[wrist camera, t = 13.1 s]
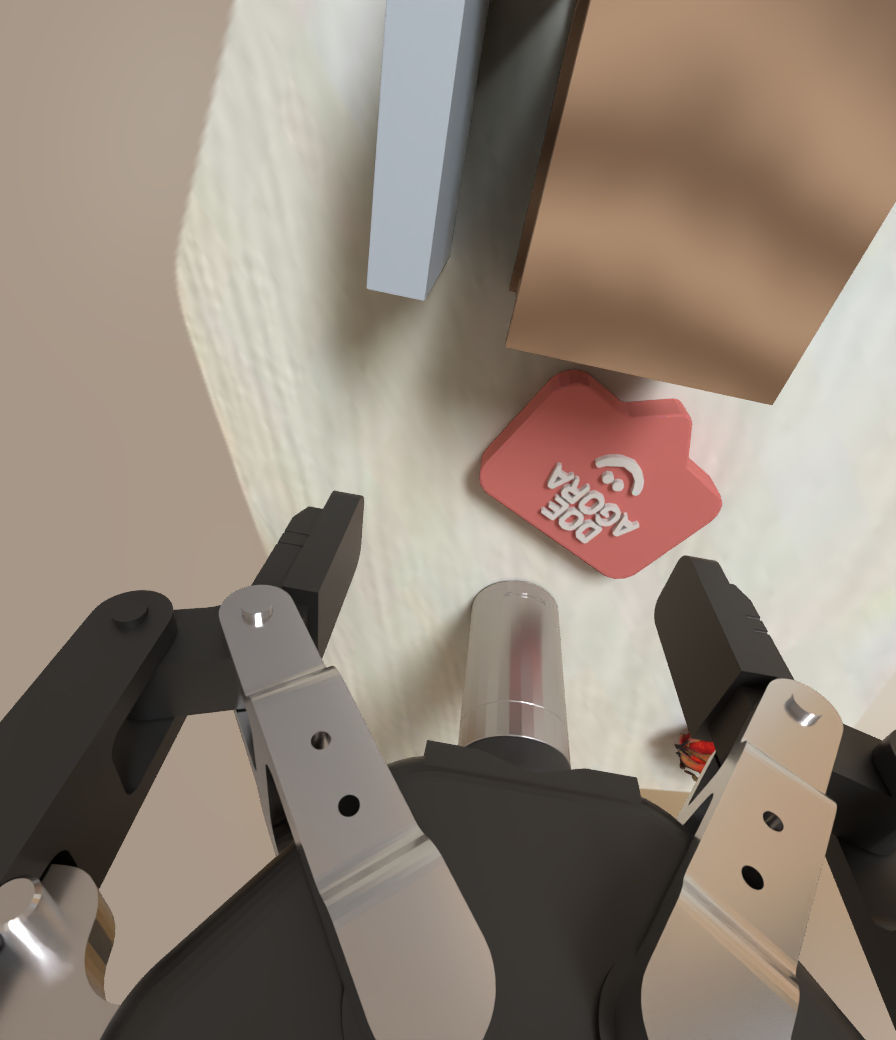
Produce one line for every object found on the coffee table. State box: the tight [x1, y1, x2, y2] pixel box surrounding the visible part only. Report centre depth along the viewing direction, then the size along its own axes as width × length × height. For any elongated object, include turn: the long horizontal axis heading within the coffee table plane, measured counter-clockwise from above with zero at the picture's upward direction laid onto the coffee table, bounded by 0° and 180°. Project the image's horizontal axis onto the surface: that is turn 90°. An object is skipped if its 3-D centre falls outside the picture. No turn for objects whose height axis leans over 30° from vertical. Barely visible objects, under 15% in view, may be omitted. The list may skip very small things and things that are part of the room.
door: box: [367, 0, 490, 301], centre depth 27 cm, size 4×14×12 cm, turn 170°
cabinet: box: [505, 0, 896, 405], centre depth 26 cm, size 20×20×13 cm
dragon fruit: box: [675, 733, 715, 781], centre depth 62 cm, size 8×8×12 cm
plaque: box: [479, 370, 722, 579], centre depth 43 cm, size 18×4×15 cm
